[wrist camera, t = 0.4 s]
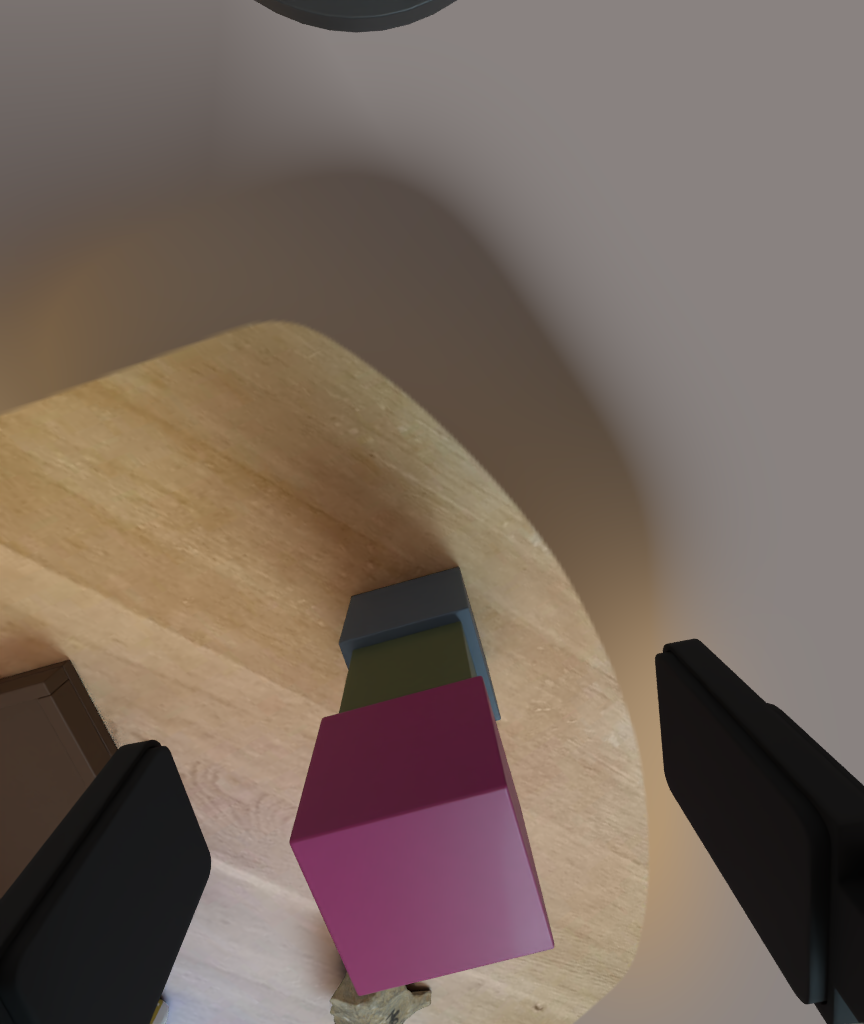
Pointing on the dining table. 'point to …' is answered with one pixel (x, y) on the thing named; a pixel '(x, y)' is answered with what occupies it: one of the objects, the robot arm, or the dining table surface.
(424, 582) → the slate block
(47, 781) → the tray
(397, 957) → the mulberry block
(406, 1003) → the artifact
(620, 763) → the dining table surface
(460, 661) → the olive block
